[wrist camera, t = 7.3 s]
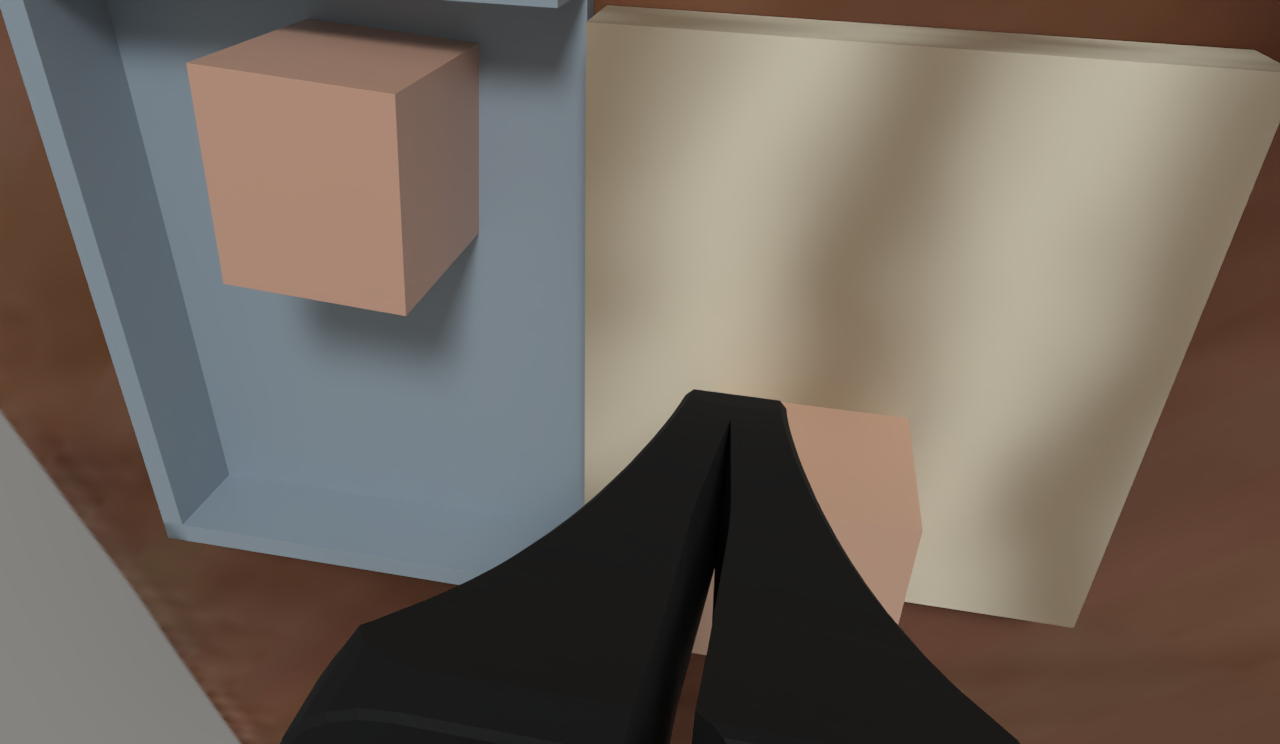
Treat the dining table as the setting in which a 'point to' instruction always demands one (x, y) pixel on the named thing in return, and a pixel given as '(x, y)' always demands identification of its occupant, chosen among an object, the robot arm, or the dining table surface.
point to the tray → (321, 331)
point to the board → (917, 257)
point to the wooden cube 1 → (340, 160)
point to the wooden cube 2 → (857, 497)
